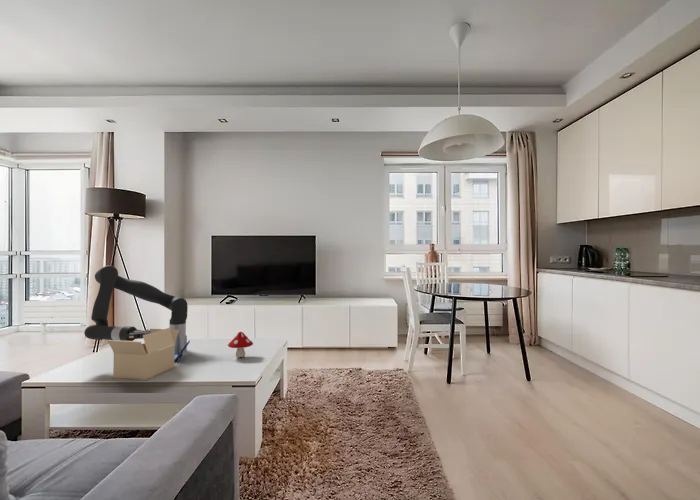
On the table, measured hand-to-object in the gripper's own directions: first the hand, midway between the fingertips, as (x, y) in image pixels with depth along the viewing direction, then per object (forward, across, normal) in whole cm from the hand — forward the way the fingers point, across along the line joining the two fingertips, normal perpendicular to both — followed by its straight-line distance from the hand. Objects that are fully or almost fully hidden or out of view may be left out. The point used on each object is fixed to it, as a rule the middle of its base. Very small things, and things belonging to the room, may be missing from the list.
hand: (154, 335), depth 182 cm
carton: (-5, 0, +19) cm, 20 cm away
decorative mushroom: (+29, +34, +19) cm, 49 cm away
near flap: (+2, 0, +2) cm, 3 cm away
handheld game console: (-6, +24, +20) cm, 32 cm away
